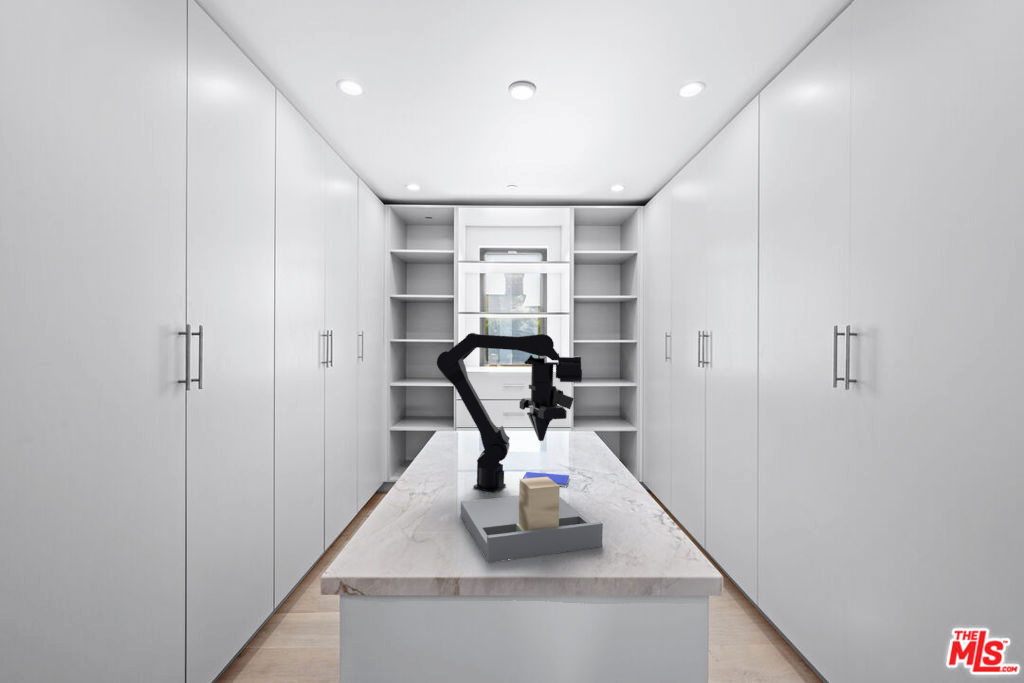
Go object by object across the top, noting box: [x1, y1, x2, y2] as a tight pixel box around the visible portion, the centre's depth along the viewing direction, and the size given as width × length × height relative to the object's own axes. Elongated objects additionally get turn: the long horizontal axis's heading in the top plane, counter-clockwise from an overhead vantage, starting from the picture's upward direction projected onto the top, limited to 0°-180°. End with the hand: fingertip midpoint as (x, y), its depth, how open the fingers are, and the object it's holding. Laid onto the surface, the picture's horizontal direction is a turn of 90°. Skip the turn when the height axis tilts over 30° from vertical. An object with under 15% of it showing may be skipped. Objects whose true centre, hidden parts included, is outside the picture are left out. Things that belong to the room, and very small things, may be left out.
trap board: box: [460, 495, 604, 564], centre depth 97 cm, size 23×23×4 cm
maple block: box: [518, 477, 560, 531], centre depth 91 cm, size 6×6×9 cm
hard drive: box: [521, 471, 570, 488], centre depth 131 cm, size 2×8×12 cm
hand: (541, 440), depth 123 cm, fingers closed
